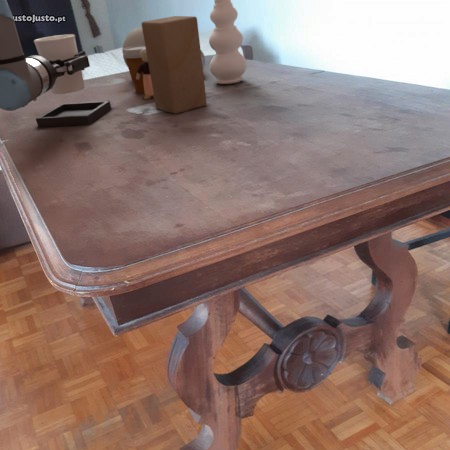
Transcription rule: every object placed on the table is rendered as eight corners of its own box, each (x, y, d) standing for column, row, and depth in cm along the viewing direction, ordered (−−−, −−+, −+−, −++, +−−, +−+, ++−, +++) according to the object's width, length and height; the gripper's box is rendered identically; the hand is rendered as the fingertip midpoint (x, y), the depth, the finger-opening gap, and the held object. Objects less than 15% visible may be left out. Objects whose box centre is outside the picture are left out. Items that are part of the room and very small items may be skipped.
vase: (236, 87, 136) (227, -17, 122) (204, 86, 141) (193, -14, 127) (254, 78, 143) (248, -21, 129) (223, 78, 149) (214, -18, 134)
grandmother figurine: (142, 100, 134) (132, 51, 127) (139, 98, 137) (129, 49, 130) (168, 95, 136) (160, 46, 129) (164, 93, 139) (156, 45, 132)
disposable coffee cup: (128, 96, 140) (119, 51, 133) (132, 89, 148) (124, 46, 141) (160, 93, 140) (153, 47, 133) (162, 86, 148) (155, 43, 141)
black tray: (38, 127, 122) (35, 118, 120) (63, 111, 133) (61, 103, 132) (89, 124, 119) (87, 115, 117) (111, 108, 130) (109, 100, 129)
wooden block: (175, 114, 118) (160, 22, 106) (155, 108, 125) (140, 21, 113) (207, 105, 122) (197, 16, 111) (187, 100, 129) (175, 15, 118)
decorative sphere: (125, 77, 166) (116, 28, 158) (167, 70, 169) (160, 22, 160) (130, 84, 154) (119, 32, 146) (175, 77, 157) (167, 25, 148)
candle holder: (93, 88, 121) (80, 34, 114) (57, 96, 116) (41, 41, 109) (79, 84, 127) (66, 33, 120) (44, 92, 123) (28, 40, 116)
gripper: (-7, 99, 107) (31, 78, 125) (85, 90, 104) (111, 70, 123) (-21, 63, 102) (21, 47, 121) (75, 52, 100) (103, 37, 118)
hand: (66, 58), depth 122 cm, fingers closed on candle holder, 9 cm apart
